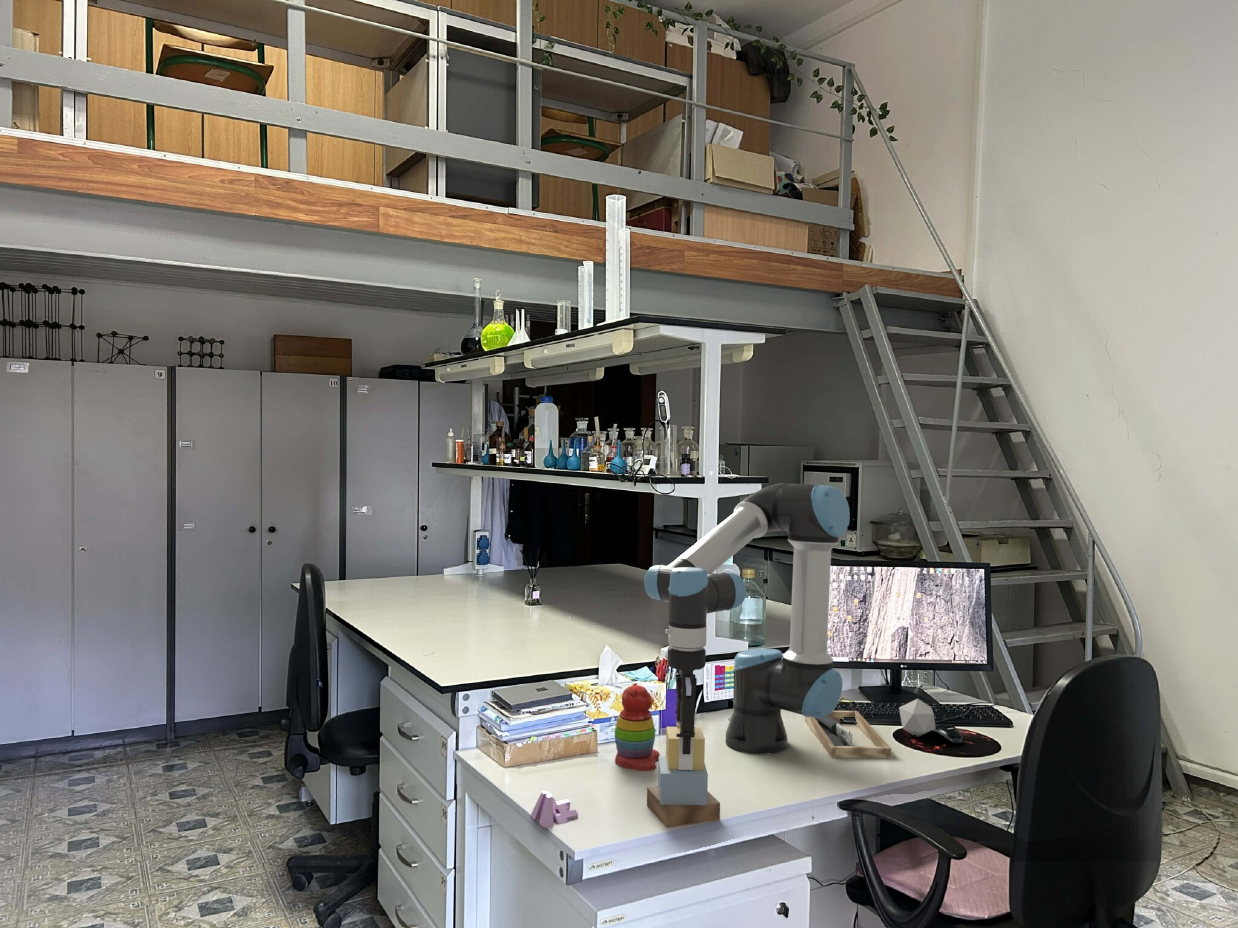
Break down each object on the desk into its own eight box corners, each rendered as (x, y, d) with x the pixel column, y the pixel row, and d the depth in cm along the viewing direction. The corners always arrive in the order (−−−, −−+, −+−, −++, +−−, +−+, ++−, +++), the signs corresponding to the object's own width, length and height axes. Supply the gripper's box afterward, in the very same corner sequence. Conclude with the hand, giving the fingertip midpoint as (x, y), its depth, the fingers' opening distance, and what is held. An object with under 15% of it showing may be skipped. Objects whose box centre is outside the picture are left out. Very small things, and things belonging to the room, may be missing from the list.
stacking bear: (653, 772, 190) (655, 693, 190) (609, 768, 192) (610, 690, 192) (661, 755, 201) (662, 680, 200) (619, 751, 203) (620, 677, 202)
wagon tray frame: (857, 721, 227) (857, 710, 227) (890, 760, 199) (890, 748, 199) (804, 721, 227) (805, 710, 227) (831, 759, 199) (831, 747, 199)
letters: (564, 811, 170) (565, 782, 169) (580, 825, 164) (580, 794, 164) (528, 819, 166) (528, 789, 165) (542, 834, 160) (543, 802, 160)
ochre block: (700, 756, 171) (701, 727, 171) (704, 769, 164) (704, 738, 164) (666, 755, 171) (666, 726, 171) (668, 769, 164) (668, 738, 164)
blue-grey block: (702, 786, 171) (703, 756, 171) (707, 805, 162) (707, 774, 162) (658, 785, 171) (658, 756, 171) (660, 804, 162) (660, 773, 162)
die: (938, 735, 218) (939, 697, 217) (930, 745, 210) (931, 705, 210) (904, 729, 222) (905, 691, 222) (895, 738, 215) (896, 699, 214)
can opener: (858, 753, 204) (858, 733, 204) (833, 754, 204) (833, 733, 203) (827, 727, 223) (828, 708, 223) (804, 728, 223) (805, 709, 222)
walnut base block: (696, 805, 174) (697, 781, 174) (719, 828, 164) (720, 802, 164) (646, 811, 171) (647, 787, 171) (666, 835, 160) (667, 809, 160)
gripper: (665, 634, 178) (662, 743, 178) (670, 658, 157) (667, 780, 158) (700, 635, 178) (698, 744, 178) (711, 659, 157) (708, 781, 158)
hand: (683, 761), depth 168 cm, fingers open, 7 cm apart
